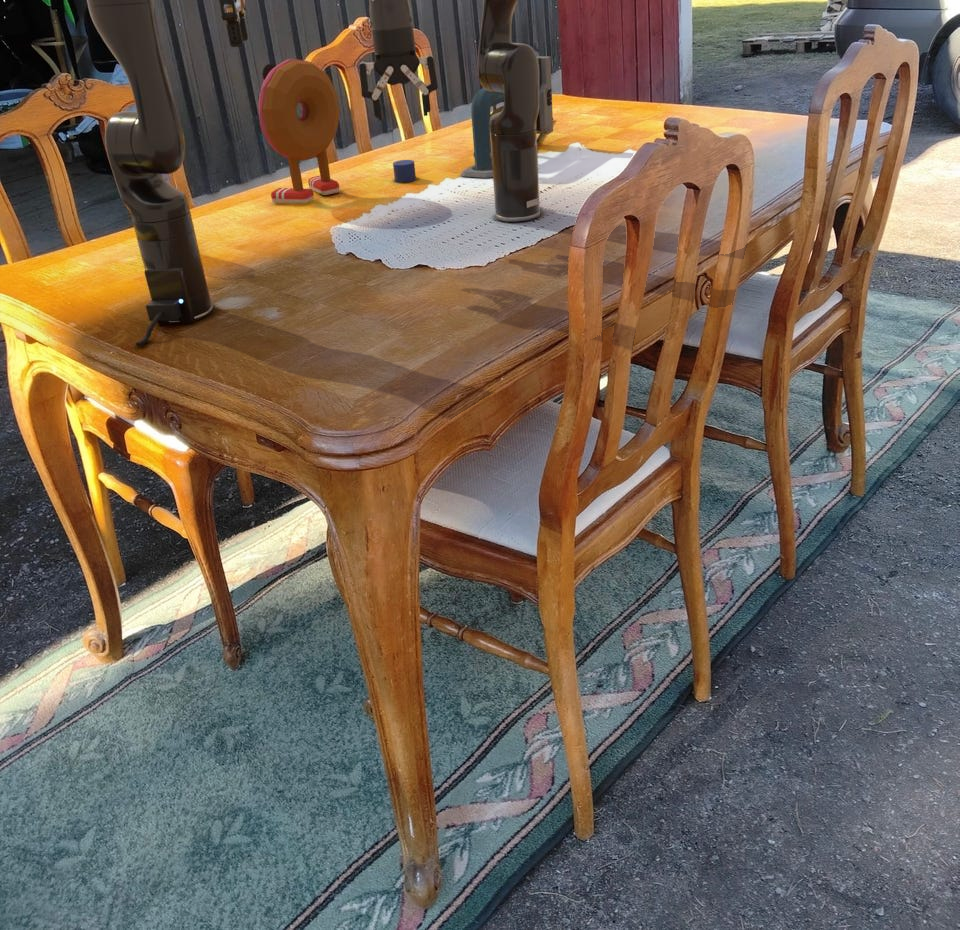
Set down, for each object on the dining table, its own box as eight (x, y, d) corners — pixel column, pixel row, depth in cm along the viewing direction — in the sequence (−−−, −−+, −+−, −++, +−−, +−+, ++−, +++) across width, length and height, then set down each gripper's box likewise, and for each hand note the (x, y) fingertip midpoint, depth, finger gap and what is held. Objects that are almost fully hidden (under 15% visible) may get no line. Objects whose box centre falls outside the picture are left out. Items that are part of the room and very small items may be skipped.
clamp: (490, 178, 228) (484, 82, 217) (458, 176, 232) (450, 81, 221) (553, 143, 254) (550, 56, 243) (523, 142, 258) (519, 56, 247)
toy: (329, 182, 236) (308, 50, 220) (358, 186, 230) (339, 51, 215) (260, 205, 222) (234, 66, 207) (289, 210, 216) (264, 67, 201)
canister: (416, 176, 235) (414, 159, 233) (415, 181, 231) (413, 164, 229) (395, 178, 235) (393, 160, 233) (394, 183, 231) (392, 165, 229)
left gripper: (238, -60, 159) (257, 46, 167) (247, -63, 171) (264, 36, 179) (192, -56, 158) (213, 50, 167) (204, -59, 171) (223, 40, 179)
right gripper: (430, 18, 178) (440, 109, 186) (353, 26, 178) (366, 117, 186) (431, 23, 172) (441, 117, 180) (351, 31, 172) (365, 125, 180)
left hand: (239, 43), depth 173 cm, fingers open, 8 cm apart
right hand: (403, 117), depth 183 cm, fingers open, 8 cm apart
